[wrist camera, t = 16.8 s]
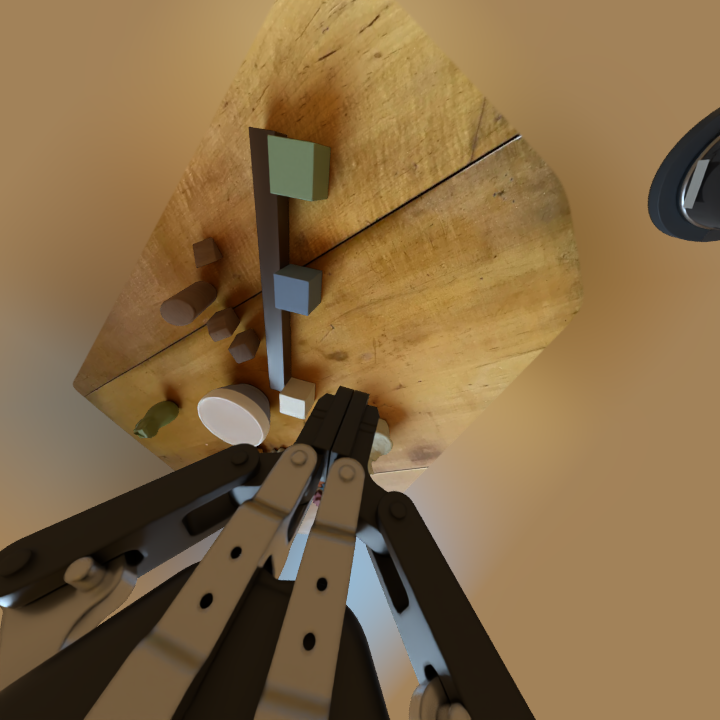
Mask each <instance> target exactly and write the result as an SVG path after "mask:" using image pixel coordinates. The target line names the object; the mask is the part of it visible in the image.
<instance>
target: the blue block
mask: <svg viewBox="0 0 720 720" xmlns="http://www.w3.org/2000/svg"><path fill="white" fill-rule="evenodd" d="M321 286H322V271H320V270H316V269H311V268H307V267H303V266H298V265H294V264H289V265H287V266H286V267H284V268H282V269H280V270H279V271H277V272H275V273H274V291H275V308H278V309H282V310H286V311H290V312H294V313H298V314H302V315H306V316H308V315H309V314H310V313H311V312H312V311H313V310H314V309H315V308H316V307H317V306H318V305H319V304H320V303H321Z"/></svg>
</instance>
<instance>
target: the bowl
mask: <svg viewBox="0 0 720 720" xmlns="http://www.w3.org/2000/svg"><path fill="white" fill-rule="evenodd" d="M269 407H270V405H269V401H268V399H267V397H266V396H265V395H264V393H263V392H261V391H260V390H259V389H257V388H256V387H254V386H252V385H248V384H238V385H229V386H226V387H221V388H218V389H214V390H212V391H210V392H209V393H208V394H206V395H205V396H204V397H203V398H202V399H201V400H200V402H199V403H198V407H197V408H198V414H199V417H200V419H201V420H202V422H203V423H204V425H205V426H206V427H207V428H208V429H209V430H210V431H211V432H212V433H213V434H215V435H216V436H217V437H219V438H220V439H222V440H224V441H226V442H228V443H230V444H232V445H237V444H241V443H248V444H251V445H253V446H258V445H259V444H261V443H262V441H263V440H264V439H265V437H266V435H267V434H268V432H269V428H270V409H269Z"/></svg>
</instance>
